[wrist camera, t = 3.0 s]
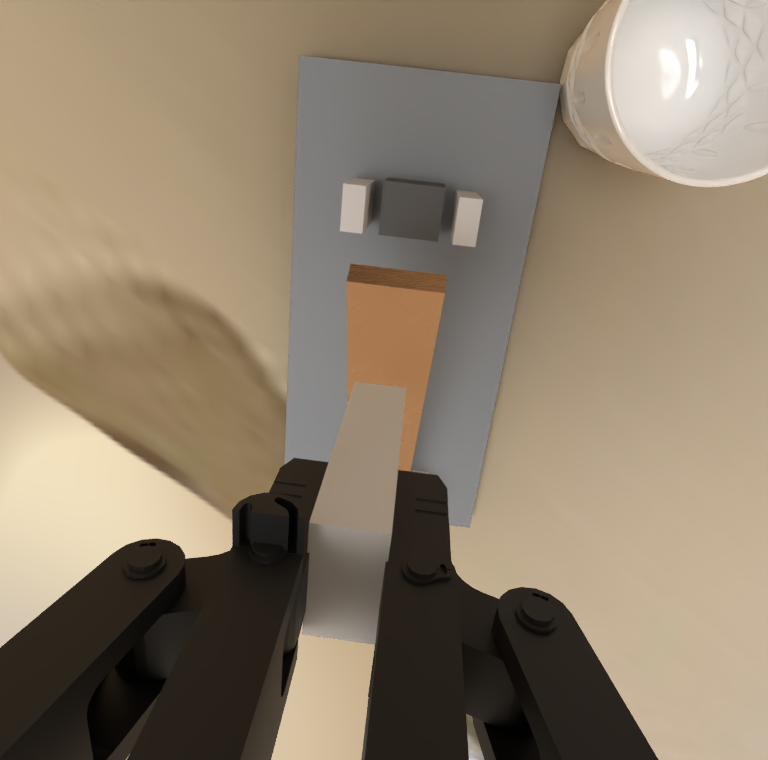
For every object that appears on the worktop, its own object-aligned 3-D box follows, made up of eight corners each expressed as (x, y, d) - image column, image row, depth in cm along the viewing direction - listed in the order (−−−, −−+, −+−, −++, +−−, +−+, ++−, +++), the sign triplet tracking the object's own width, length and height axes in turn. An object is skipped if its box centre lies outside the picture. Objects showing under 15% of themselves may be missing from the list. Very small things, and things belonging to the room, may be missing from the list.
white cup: (757, 30, 25) (947, -35, 16) (654, 198, 28) (763, 226, 19) (603, -51, 24) (708, -168, 15) (515, 131, 27) (557, 125, 18)
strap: (348, 259, 17) (342, 285, 17) (450, 271, 17) (448, 298, 16) (349, 505, 33) (345, 524, 32) (402, 512, 32) (400, 532, 32)
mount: (306, 59, 27) (273, 38, 21) (554, 86, 26) (587, 72, 21) (288, 488, 37) (263, 549, 31) (468, 513, 36) (474, 579, 31)
